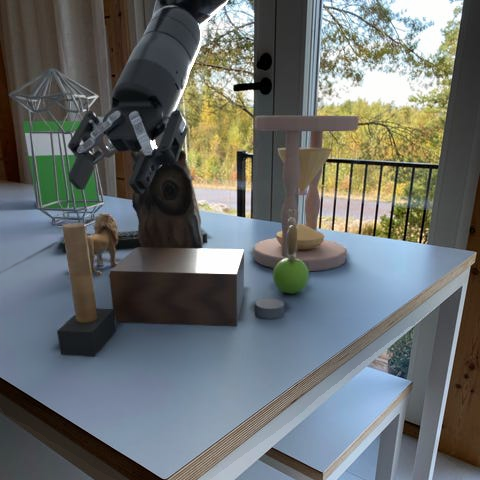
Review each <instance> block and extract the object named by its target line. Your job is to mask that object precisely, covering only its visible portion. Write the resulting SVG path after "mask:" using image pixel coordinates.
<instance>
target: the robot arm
mask: <svg viewBox="0 0 480 480" xmlns="http://www.w3.org/2000/svg"><path fill="white" fill-rule="evenodd" d="M228 1H229V0H155V3H154V8H153V11H152V14H151V15H152V17H151V18H150V21H149V22H148V24H147V27H146V28H145V30H144V32H143V35H142V36H141V38H140V40H139V42H137V44H136V45H135V47H134V49H133V50H132V52H131V54H130V56H129V58H128V60H127V61H126V63H125V65H124V68H123V69H122V72H121V74H120V76H119V78H118V79H117V82H116V84H115V86H114V87H113V90H112V94H111V108H110V110H108V111H107V113H105V114H104V116H98V115H96V113H95V112H94V111H93V110H89V111H88V112H87V111H86V112H85V114H84V115H83V117H82V120H80V121H81V123H80V124H79V126H78V128H77V130H76V131H75V133H74V135H73V137H72V138H71V140H70V142H69V144H68V148H69V149H70V150H71V151H72V152H73V154H74V155H75V156H76V157H77V159H76V161H75V163H74V165H73V167H72V169H71V171H70V173H69V180H70V182H71V183H72V184H73V185H74V186H75V187H76V188H77V189H82V190H83V189H85V187H86V185H87V183H88V181H89V179H90V176H91V174H92V172H93V170H94V168H95V166H94V165H95V164H97V165H98V163H100V162H101V161H102V160H103V159H104V158H111V157H113V156H114V155H115V154H117V153H118V152H127V151H128V152H132V151H133V152H139V151H140V150H142V151H143V153H144V156H140V157H139V160H138V162H137V164H136V166H135V169H134V171H133V170H132V173H131V176H130V178H129V180H128V184H129V186H130V188H131V189H132V190H133V192H134V191H135V193H136V194H143V193H144V191H145V189H146V190H147V188H148V187H149V186H150V184H151V181H152V179H153V177H154V174H155V172H156V170H157V169H159V168H160V167H161V166H162V165H163V164H168V165H169V166H172V165H175V164H176V162H177V160H178V157H179V154H180V151H181V150H182V148H183V145H184V142H185V139H186V137H187V134H188V131H189V127H188V124H187V122H186V120H185V118H184V116H183V114H182V113H181V111H180V110H178V109H177V108H178V105H179V103H180V100H181V98H182V96H183V93H184V91H185V89H186V86H187V84H188V80H189V76H190V73H191V70H192V67H193V65H194V63H195V61H196V58H197V56H198V54H199V52H200V49H201V45H202V38H203V37H202V29H201V28H202V27H203V26H204V25H206V23H207V22H208V21H209V20H210V19H212V18H213V16H215V15H216V14H217V13H218V12H219V11H220V10H221V9H222V8H223V7H224V6H225V5H226V4H227V3H228ZM105 135H106V139H107V140H108V142H109V143H110V144H109V145H106V144H105V143H104V141H103V137H104V136H105ZM161 135H162V136H161ZM160 136H161V137H162V138H161V139H160V143H159V145H158V146H157V145H156V139H158V138H160ZM81 141H83V144H82V145H80V143H81ZM96 147H98V149H97V151H94V154H92V153H91V150H92V149H94V148H96Z"/></svg>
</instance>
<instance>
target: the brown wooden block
mask: <svg viewBox="0 0 480 480" xmlns="http://www.w3.org/2000/svg"><path fill="white" fill-rule="evenodd" d="M117 263H118V264H117V265H116V266H113V267H112V268H111V269H110V270H109V274H108V277H109V278H108V279H109V285H110V294H111V305H112V309H114V315H115V323H128V324H129V323H130V324H131V323H132V324H133V323H134V324H159V325H160V324H163V325H189V326H190V325H191V326H192V325H193V326H195V325H196V326H219V327H220V326H221V327H222V326H223V327H224V326H225V327H237V326H238V323H239V318H240V315H241V309H242V305H243V300H244V295H245V250H244V249H238V248H203V249H196V248H148V247H135V248H134V249H133V250H132V251H131V252H129V253H128V254H127V255H126V256H125V257H124V258H123V259H121V261H119V262H117Z"/></svg>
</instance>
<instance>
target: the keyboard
mask: <svg viewBox="0 0 480 480" xmlns="http://www.w3.org/2000/svg"><path fill="white" fill-rule="evenodd" d="M201 231H202V236H203V238H202V240H203V244H204V243H208V233H206V232H205V231H204V230H202V229H201ZM87 235H92V234H91V233H87ZM136 247H142V246H141V245H140V240H139V235H138V230H136V231H134V230H133V231H132V230H131V231H121V232H119V231H118V243H117V244H116V246H115V250H118V249H119V250H120V249H133V248H134V249H135V248H136ZM61 248H62V252H63V253H66V248H65V241H64V237H63V238H62V241H61Z"/></svg>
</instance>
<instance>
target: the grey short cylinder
mask: <svg viewBox="0 0 480 480" xmlns="http://www.w3.org/2000/svg"><path fill="white" fill-rule="evenodd" d="M254 302H255V303H254V314H255V316H256V317H258V318H262V319H265V320H275V319H279V318H282V317H283V316H284V315H285V302H284V301H283V300H282V299H281V300H280V299H278V298H270V297H269V298H260V299H257V300H256V301H254Z"/></svg>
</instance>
